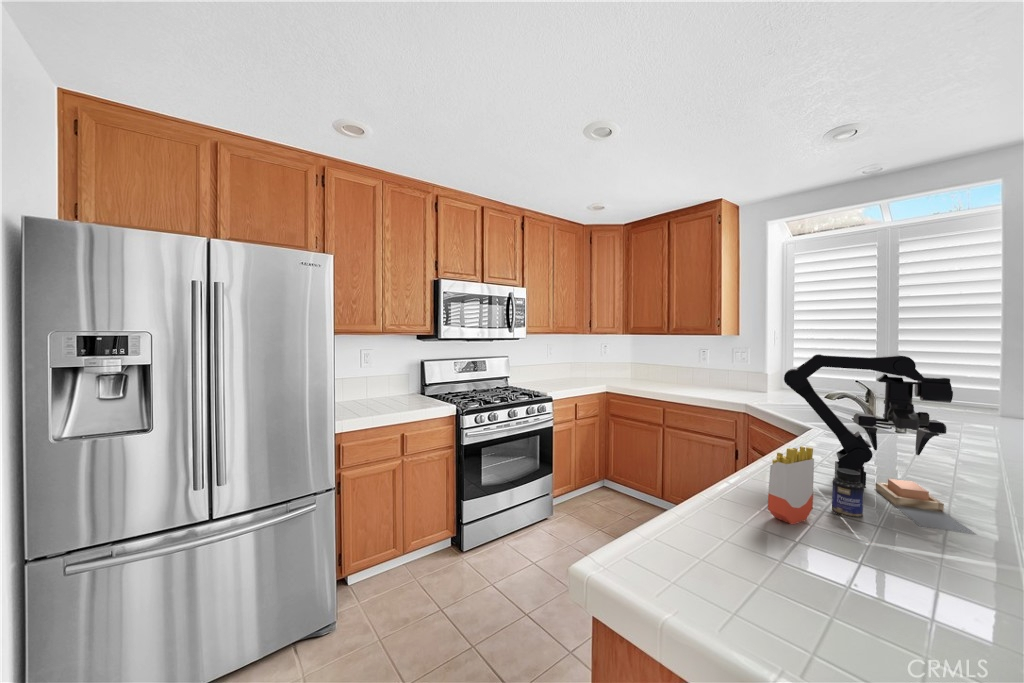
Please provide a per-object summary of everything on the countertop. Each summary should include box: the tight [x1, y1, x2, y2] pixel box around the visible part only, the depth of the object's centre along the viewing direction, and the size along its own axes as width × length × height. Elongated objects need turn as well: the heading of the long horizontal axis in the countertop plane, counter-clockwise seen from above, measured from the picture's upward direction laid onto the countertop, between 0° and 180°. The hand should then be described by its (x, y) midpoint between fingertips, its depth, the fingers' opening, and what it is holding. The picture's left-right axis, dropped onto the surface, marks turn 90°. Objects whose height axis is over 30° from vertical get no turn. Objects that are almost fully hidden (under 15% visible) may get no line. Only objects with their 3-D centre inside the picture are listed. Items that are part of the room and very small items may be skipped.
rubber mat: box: [874, 488, 978, 536], centre depth 105 cm, size 10×25×1 cm, turn 157°
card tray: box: [875, 481, 945, 512], centre depth 110 cm, size 10×12×2 cm
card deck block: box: [887, 478, 930, 501], centre depth 110 cm, size 8×6×4 cm
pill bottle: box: [831, 468, 865, 519], centre depth 102 cm, size 6×6×11 cm
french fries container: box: [767, 446, 815, 525], centre depth 99 cm, size 5×11×18 cm, turn 114°
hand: (896, 452), depth 117 cm, fingers open, 9 cm apart
